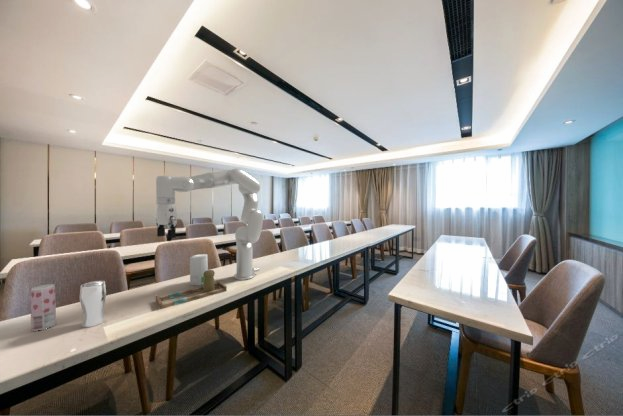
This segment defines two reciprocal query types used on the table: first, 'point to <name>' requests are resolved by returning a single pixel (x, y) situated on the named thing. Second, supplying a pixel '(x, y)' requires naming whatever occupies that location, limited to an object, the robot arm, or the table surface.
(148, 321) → the table surface
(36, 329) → the beverage can
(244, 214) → the robot arm
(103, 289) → the beer glass
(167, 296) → the brown wooden tray
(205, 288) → the cork
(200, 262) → the skincare box
